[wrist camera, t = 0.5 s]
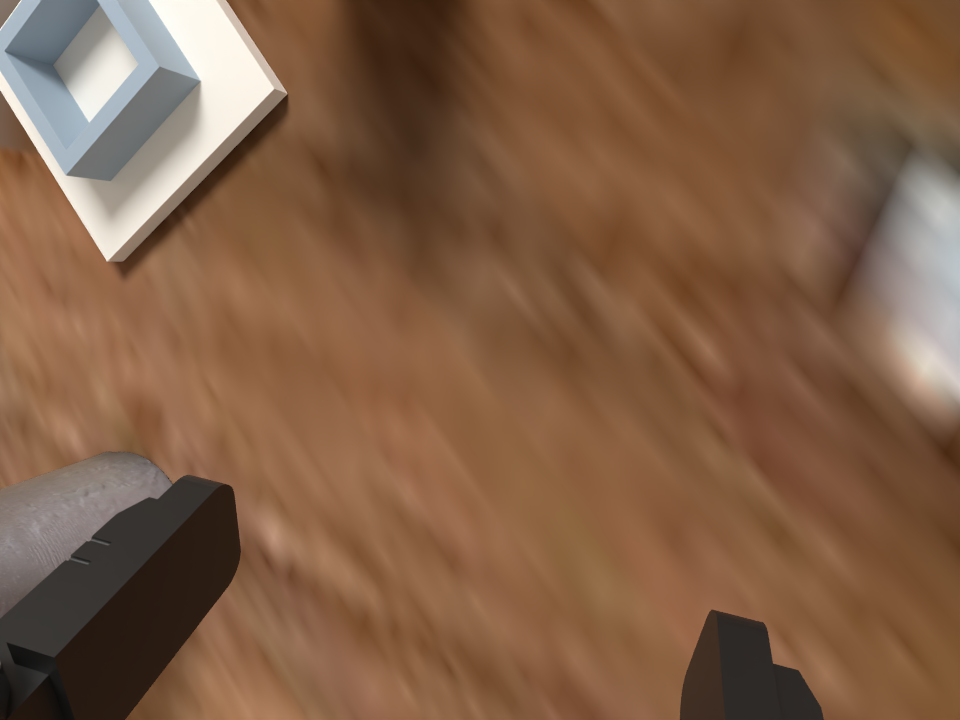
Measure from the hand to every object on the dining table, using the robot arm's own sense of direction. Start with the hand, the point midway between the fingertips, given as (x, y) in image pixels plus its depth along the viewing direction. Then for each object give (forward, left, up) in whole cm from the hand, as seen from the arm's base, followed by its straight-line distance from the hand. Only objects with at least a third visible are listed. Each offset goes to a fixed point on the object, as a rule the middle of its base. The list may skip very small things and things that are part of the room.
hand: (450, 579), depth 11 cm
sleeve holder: (-5, -34, -24) cm, 42 cm away
